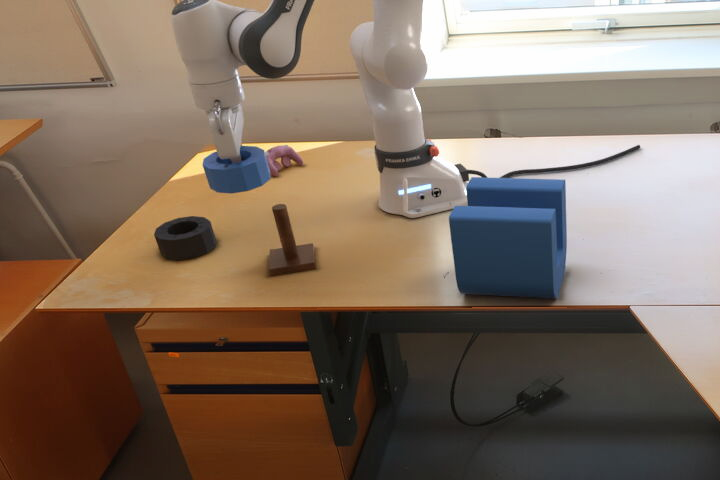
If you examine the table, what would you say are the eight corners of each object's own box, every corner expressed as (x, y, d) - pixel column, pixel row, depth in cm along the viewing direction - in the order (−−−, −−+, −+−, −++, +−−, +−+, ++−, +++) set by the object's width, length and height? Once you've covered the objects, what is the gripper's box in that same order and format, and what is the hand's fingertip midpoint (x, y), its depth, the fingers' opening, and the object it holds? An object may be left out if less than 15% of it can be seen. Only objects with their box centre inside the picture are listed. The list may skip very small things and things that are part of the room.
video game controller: (297, 167, 208) (284, 143, 206) (306, 163, 205) (293, 138, 202) (268, 180, 201) (254, 155, 199) (276, 176, 198) (262, 150, 196)
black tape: (217, 232, 174) (211, 213, 172) (214, 255, 166) (207, 234, 163) (165, 240, 172) (158, 220, 169) (158, 263, 163) (151, 243, 161)
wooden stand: (314, 249, 166) (301, 194, 159) (315, 268, 159) (302, 212, 152) (271, 255, 164) (256, 201, 157) (270, 275, 157) (254, 219, 150)
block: (554, 310, 142) (551, 220, 132) (459, 305, 145) (448, 217, 135) (567, 262, 157) (565, 178, 146) (480, 258, 159) (472, 175, 149)
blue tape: (270, 165, 155) (264, 142, 152) (270, 187, 146) (263, 163, 144) (212, 174, 153) (205, 151, 150) (208, 197, 144) (200, 172, 142)
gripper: (232, 108, 136) (254, 181, 145) (238, 75, 152) (257, 144, 161) (195, 113, 135) (219, 187, 144) (205, 80, 151) (226, 148, 160)
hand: (239, 164), depth 152 cm, fingers closed on blue tape, 2 cm apart
